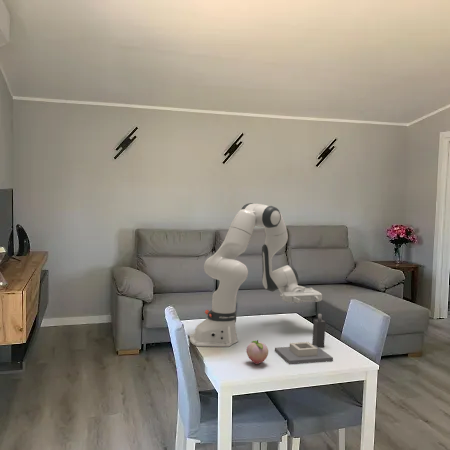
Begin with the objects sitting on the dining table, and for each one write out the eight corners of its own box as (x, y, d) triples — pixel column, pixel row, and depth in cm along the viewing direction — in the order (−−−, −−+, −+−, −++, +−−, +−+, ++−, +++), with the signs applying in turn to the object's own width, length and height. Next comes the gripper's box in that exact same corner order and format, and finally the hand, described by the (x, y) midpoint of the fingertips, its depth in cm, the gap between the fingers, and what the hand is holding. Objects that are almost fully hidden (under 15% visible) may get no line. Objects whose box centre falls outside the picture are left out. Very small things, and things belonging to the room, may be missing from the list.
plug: (316, 347, 214) (318, 315, 213) (312, 344, 218) (314, 313, 217) (324, 347, 215) (325, 315, 214) (320, 344, 219) (321, 312, 218)
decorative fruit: (272, 365, 190) (273, 341, 189) (256, 369, 185) (257, 344, 184) (258, 358, 198) (259, 335, 197) (242, 361, 193) (243, 337, 192)
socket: (289, 364, 192) (289, 353, 192) (274, 350, 207) (275, 341, 207) (332, 361, 198) (333, 350, 197) (315, 348, 213) (315, 338, 213)
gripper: (278, 288, 237) (289, 295, 224) (314, 287, 243) (327, 293, 230) (277, 300, 238) (288, 307, 224) (314, 299, 243) (327, 306, 230)
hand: (308, 300), depth 227 cm, fingers open, 8 cm apart
